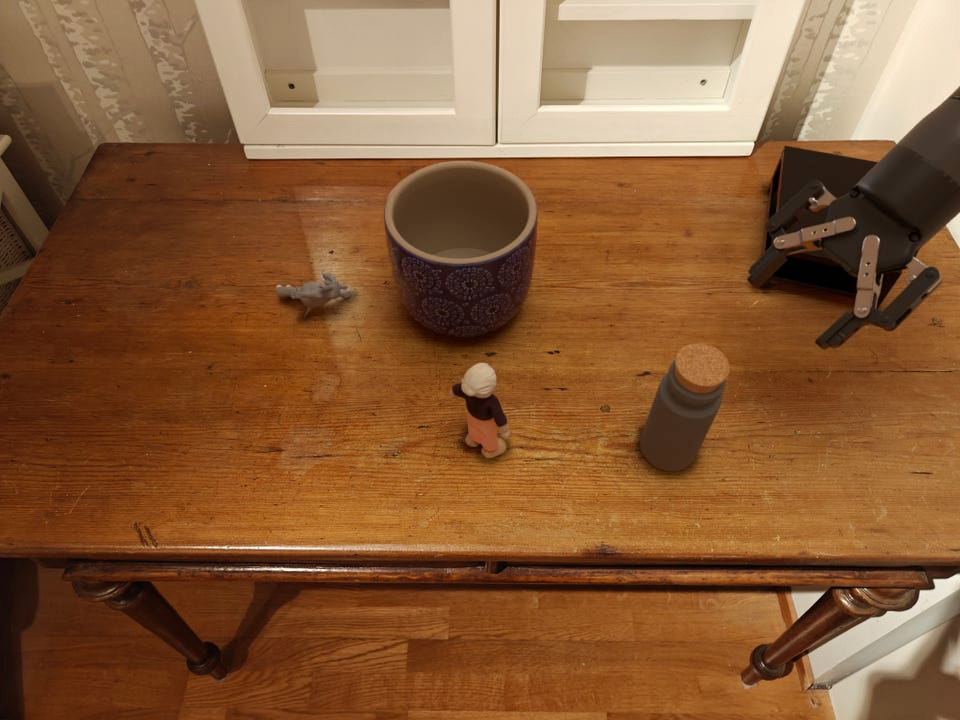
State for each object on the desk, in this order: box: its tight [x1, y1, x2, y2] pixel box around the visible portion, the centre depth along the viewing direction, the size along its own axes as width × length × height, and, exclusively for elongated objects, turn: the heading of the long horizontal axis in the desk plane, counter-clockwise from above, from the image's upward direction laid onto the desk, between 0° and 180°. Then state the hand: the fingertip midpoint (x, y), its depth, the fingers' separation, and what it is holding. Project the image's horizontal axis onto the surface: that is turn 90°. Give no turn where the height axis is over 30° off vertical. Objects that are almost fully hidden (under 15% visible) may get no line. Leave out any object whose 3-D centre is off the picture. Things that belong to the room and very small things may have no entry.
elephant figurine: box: [275, 269, 353, 319], centre depth 84 cm, size 10×6×9 cm
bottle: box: [639, 342, 730, 472], centre depth 68 cm, size 6×6×15 cm
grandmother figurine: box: [449, 362, 511, 459], centre depth 69 cm, size 8×4×13 cm, turn 59°
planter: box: [383, 160, 539, 338], centre depth 80 cm, size 16×17×15 cm
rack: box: [758, 145, 903, 310], centre depth 89 cm, size 14×20×7 cm
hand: (784, 314), depth 64 cm, fingers open, 8 cm apart
